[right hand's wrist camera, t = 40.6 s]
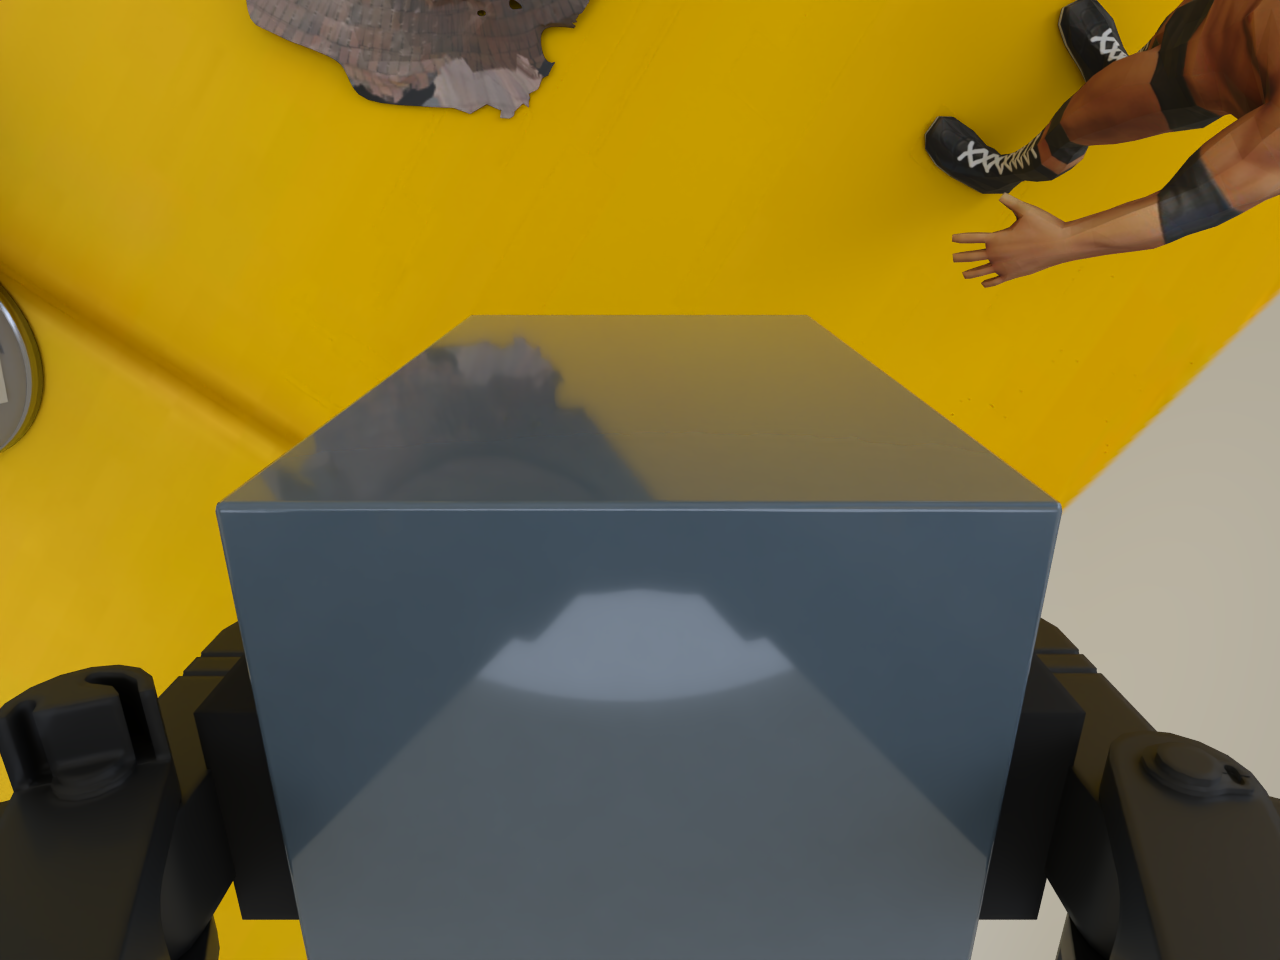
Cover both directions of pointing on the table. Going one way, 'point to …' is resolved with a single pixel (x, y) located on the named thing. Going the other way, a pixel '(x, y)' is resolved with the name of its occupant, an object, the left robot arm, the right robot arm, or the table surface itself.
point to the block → (638, 649)
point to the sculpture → (427, 46)
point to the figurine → (1136, 134)
